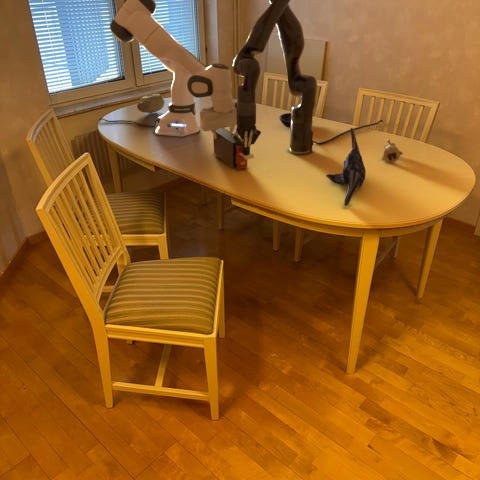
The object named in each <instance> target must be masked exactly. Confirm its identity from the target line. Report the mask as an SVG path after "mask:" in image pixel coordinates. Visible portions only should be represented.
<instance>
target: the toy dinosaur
mask: <svg viewBox="0 0 480 480" xmlns="http://www.w3.org/2000/svg"><path fill="white" fill-rule="evenodd" d="M353 129H354V128H353V127H350V129H349V130H350V137H351V151H349V153H348V154H347V156H346V158H345V159H344V160H343V168H342V173H335V174H333V173H331V174H330V173H328V174H326V175H325V177H326V178H327V179H328V180H329V181H331V182H332V183H334V184H337V185H341V186H344V185H347V190H346V193H345V196H344V201H343V202H344V203H343V204H344V205H343V206H344V207H347V206H348V205H349V204H350V202H351V200H352V199H353V197H354V195H355V193H356V191H357V190H358V189H360V188H361V187H362V186H363V184H364V181H365V179H366V174H367V172H366V167H365V164H364V161H363V156H362V155H361V153H360V152H361V151H360V147H359V145H358V142H357V137H356V134H355V130H353Z"/></svg>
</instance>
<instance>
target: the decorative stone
mask: <svg viewBox="0 0 480 480" xmlns="http://www.w3.org/2000/svg"><path fill="white" fill-rule="evenodd" d="M164 107H165V99H164V97H163V96H162V95H161V94H159V93H158V94H155V93H150V94H148V95H145V96H143V97H141V98H140V99H139V100H138V102H137V104H136V108H137V110H138V111H139V112H141V113H144V114H145V113H147V114H153V113H157V112H159V111H162V109H163V108H164Z"/></svg>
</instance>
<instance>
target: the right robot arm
mask: <svg viewBox="0 0 480 480" xmlns="http://www.w3.org/2000/svg"><path fill="white" fill-rule="evenodd" d="M290 2H291V0H269V3H270V4H269V6H268V7H267V8H266V10H264V11H263V13H261V15H260V16H259V17H258V18H257V20H256V21H255V22H254V24H253V25H252V28H251V30H250V31H249V35H248V38H247V39H246V42H245V43H244V45H243V46H242V47H241V49H240V50H239V51H238V53H237V54H236V56H235V57H234V59H233V63H232V70H233V73H234V74H235V75H237V76H238V77H243V78H244V80H243V83H242V82H241V83H239V84H238V85H237V87H236V100H237V110H236V112H237V125H236V128H235V132H234V133H233V134H232V135H231V137H232V138H233V139H234V140H235V142H236V143H237V144H238V145H240V146H241V147H242V154H243V155H245V156H246V155H249V154H251V146H252V145H255V143H256V142H257V140H258V138H259V137H260V136H261V134H262V131H261V130H260V129H257V126H256V124H257V101H256V99H257V93H256V92H257V86H258V83H259V79H260V75H261V64H260V61H259V60H258V59H257V58H255V57H256V56H257V55H262V54H263V52H265V49H266V47H267V45H268V43H269V40H270V39H271V38H270V37H271V35H272V33H273V31H274V28H275V27H276V29H277V31H278V38H279V42H280V47H281V50H282V55H283V60H284V65H285V70H286V80H287V87H288V91H289V93H290V95H292V96H293V97H297V98H301V99H300V100H301V101H300V103H297V104H294V105H292V107H291V113H292V114H291V128H290V139H289V152H290V154H291V153H292V154H293V155H307V154H309V153H312V152H313V146H314V143H315V144H316V145H324V144H326V143H329V142H331V141H334V140H335V139H337V138H338V137H342V136H343V135H345V134H347V133H351V131H350V129H349V130H346V131H343V132H341V133H339V134H337V135H335V136H334V137H332V138H330V139H327V140H325V141H322V142H318V141H316V140H314V131H313V115H314V110H315V107H316V100H317V99H316V98H317V93H318V81H317V78H316V77H315V76H313V75H309V74H304V73H302V71H301V68H300V61H301V57H302V54H303V52H304V49H305V46H306V45H305V44H306V41H305V35H304V30H303V27H302V24H301V22H300V20H299V19H298V17H297V15H296V14H295V12H294V11H293V10H292V8H291V7H290ZM380 123H384V120H383V119H379V121H377V122H375V123H370V124H367V125H366V124H365V125H362V126H358V127H355V128H353V130H354V131H356V130H359V129H363V128H367V127H372V126H375V125H378V124H380ZM239 138H240V139H241V141H240V140H239Z"/></svg>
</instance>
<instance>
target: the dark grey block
mask: <svg viewBox="0 0 480 480" xmlns="http://www.w3.org/2000/svg"><path fill="white" fill-rule="evenodd" d="M215 133H216V134H218V135H219V139H214V134H213V133H212V134H213V137H212V138H213V154H214V156H216V157H218V158H219V159H220V160H222V161H223V162H224V163H226V164H227V165H228V166H229V167H231V168H232V169H235V168H237V165H235V144H237V143H236V142H235V140H234V139H233V138H232V137H231V135H232V134H234V133H233V132H232V133H231V132H230V131H229V129H226V127H225V128H220V129H216V132H215ZM239 140H240V141H241V139H240V137H239Z"/></svg>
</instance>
